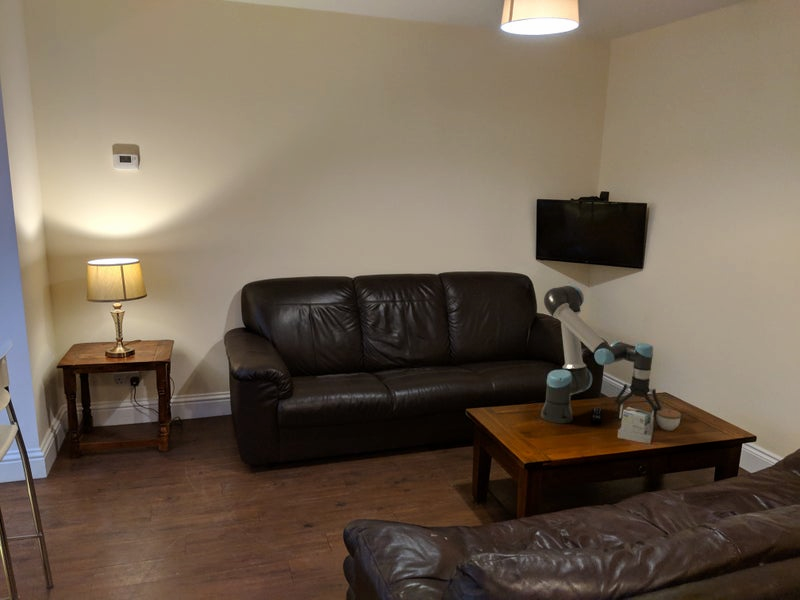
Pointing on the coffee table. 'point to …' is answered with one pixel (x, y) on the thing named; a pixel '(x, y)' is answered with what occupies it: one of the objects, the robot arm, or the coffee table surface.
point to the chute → (636, 435)
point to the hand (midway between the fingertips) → (635, 420)
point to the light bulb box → (636, 420)
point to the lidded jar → (668, 419)
